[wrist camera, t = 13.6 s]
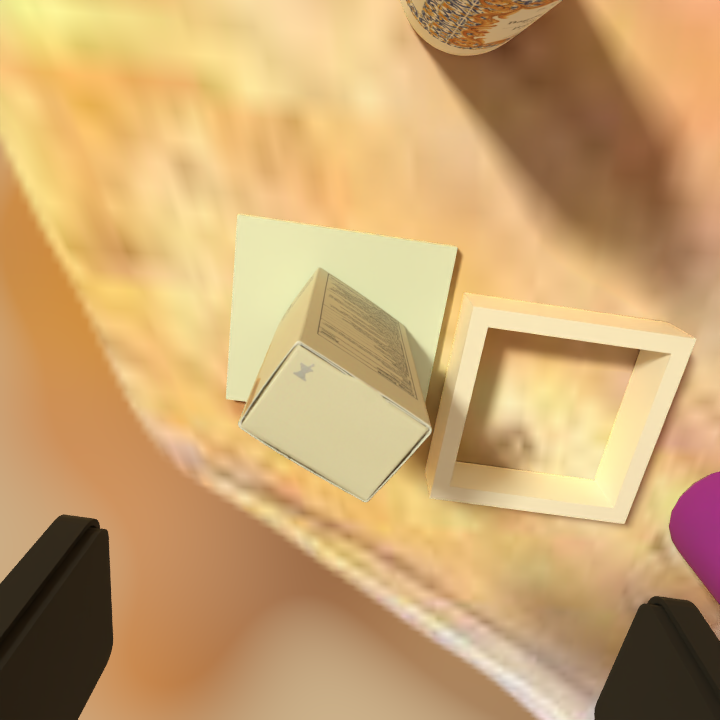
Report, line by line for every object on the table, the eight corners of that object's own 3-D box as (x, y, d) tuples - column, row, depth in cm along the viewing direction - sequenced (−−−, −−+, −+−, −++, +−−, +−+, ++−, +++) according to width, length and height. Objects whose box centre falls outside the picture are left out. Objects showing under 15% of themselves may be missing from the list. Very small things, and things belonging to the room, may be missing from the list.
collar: (667, 322, 32) (696, 338, 29) (604, 494, 36) (624, 523, 33) (464, 292, 31) (473, 306, 28) (424, 470, 36) (429, 498, 33)
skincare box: (276, 324, 31) (224, 423, 20) (319, 263, 30) (289, 333, 19) (367, 384, 33) (366, 510, 21) (411, 328, 31) (436, 431, 20)
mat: (456, 245, 30) (457, 247, 30) (419, 421, 34) (420, 425, 34) (239, 213, 30) (237, 214, 29) (228, 394, 34) (225, 399, 33)
